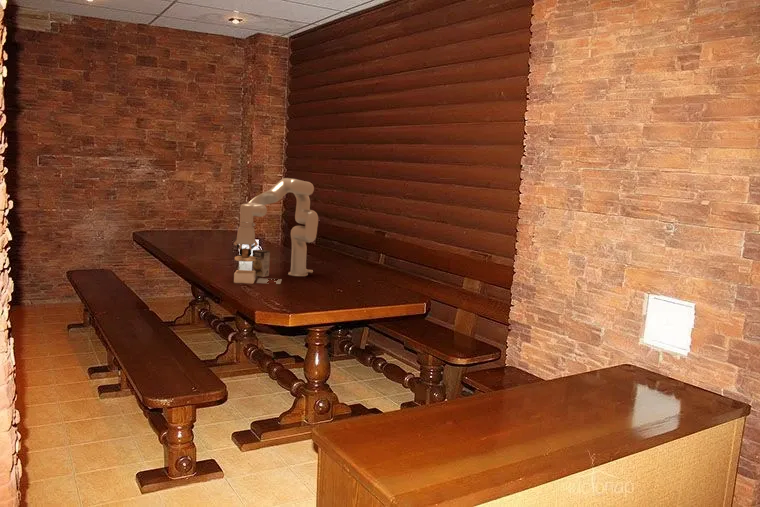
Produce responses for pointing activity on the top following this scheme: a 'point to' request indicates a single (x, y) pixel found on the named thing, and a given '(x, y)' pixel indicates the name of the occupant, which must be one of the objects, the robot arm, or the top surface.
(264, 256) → the coffee box
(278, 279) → the mat
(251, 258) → the lid
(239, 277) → the small beige box
